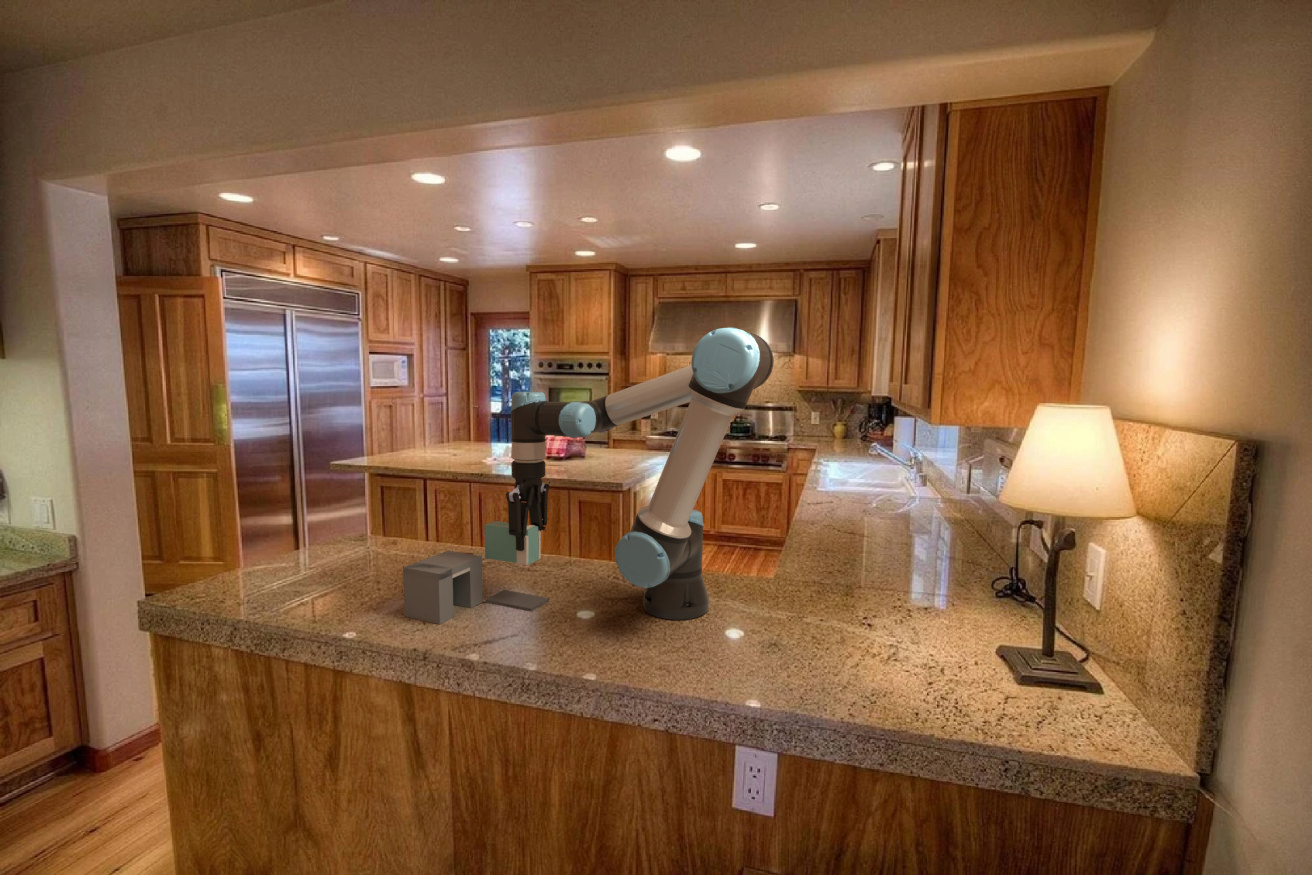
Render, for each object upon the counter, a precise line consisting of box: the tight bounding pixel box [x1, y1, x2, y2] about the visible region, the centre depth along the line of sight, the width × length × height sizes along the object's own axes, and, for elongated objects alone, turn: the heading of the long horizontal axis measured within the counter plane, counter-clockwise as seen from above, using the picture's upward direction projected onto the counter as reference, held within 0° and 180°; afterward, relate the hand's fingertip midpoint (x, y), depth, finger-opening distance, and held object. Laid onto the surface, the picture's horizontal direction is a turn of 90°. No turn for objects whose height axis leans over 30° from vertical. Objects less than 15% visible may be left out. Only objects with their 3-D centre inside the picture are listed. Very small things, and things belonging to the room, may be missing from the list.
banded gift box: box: [484, 520, 539, 566], centre depth 133 cm, size 12×4×8 cm, turn 68°
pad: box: [484, 589, 550, 612], centre depth 134 cm, size 13×7×1 cm, turn 67°
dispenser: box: [402, 550, 484, 625], centre depth 128 cm, size 10×14×11 cm
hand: (528, 560), depth 131 cm, fingers closed on banded gift box, 4 cm apart
